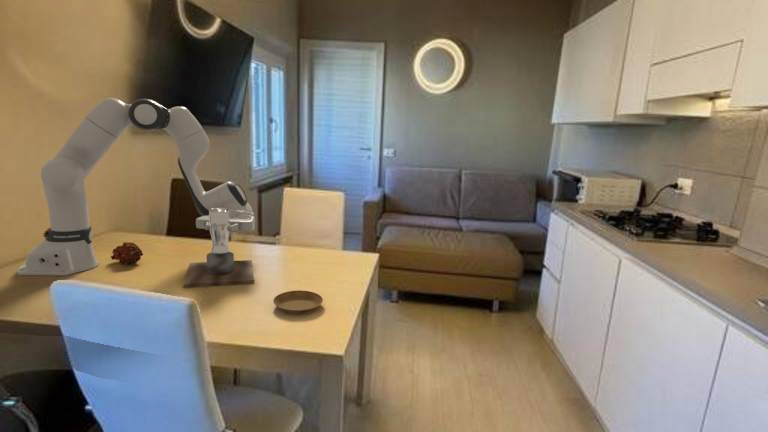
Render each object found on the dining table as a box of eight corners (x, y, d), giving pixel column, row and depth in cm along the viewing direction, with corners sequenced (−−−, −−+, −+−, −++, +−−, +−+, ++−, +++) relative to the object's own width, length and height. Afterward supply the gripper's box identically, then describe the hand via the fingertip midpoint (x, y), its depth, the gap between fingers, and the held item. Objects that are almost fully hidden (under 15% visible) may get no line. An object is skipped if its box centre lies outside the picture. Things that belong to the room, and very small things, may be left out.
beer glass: (234, 249, 156) (233, 208, 153) (225, 255, 149) (224, 212, 146) (215, 247, 157) (214, 207, 153) (206, 253, 150) (204, 211, 147)
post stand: (183, 287, 141) (182, 266, 139) (189, 265, 161) (189, 247, 160) (254, 283, 148) (253, 263, 146) (251, 263, 168) (251, 245, 167)
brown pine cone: (140, 270, 158) (115, 269, 162) (153, 252, 164) (128, 252, 168) (125, 255, 152) (99, 255, 156) (139, 237, 158) (114, 237, 162)
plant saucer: (332, 308, 132) (332, 300, 132) (293, 323, 121) (293, 314, 121) (302, 294, 142) (302, 286, 141) (263, 306, 131) (263, 298, 130)
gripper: (203, 210, 163) (188, 217, 149) (258, 213, 163) (247, 221, 150) (204, 226, 164) (188, 235, 151) (258, 229, 165) (247, 238, 151)
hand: (218, 228), depth 150 cm, fingers closed on beer glass, 6 cm apart
